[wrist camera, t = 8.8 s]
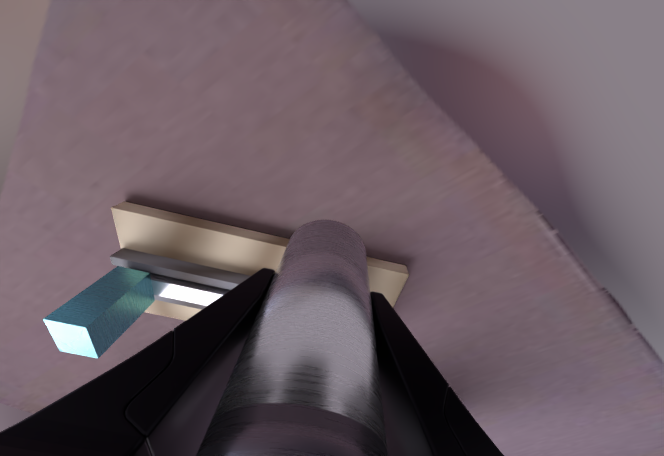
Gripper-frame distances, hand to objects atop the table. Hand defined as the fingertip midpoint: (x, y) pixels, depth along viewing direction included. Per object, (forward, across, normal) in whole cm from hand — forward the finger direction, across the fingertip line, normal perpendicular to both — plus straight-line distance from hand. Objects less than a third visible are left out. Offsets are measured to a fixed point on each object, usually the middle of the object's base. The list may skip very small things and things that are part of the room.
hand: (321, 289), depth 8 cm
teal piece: (+8, +9, +10) cm, 16 cm away
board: (+10, +4, +10) cm, 15 cm away
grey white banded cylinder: (+2, 0, 0) cm, 2 cm away
